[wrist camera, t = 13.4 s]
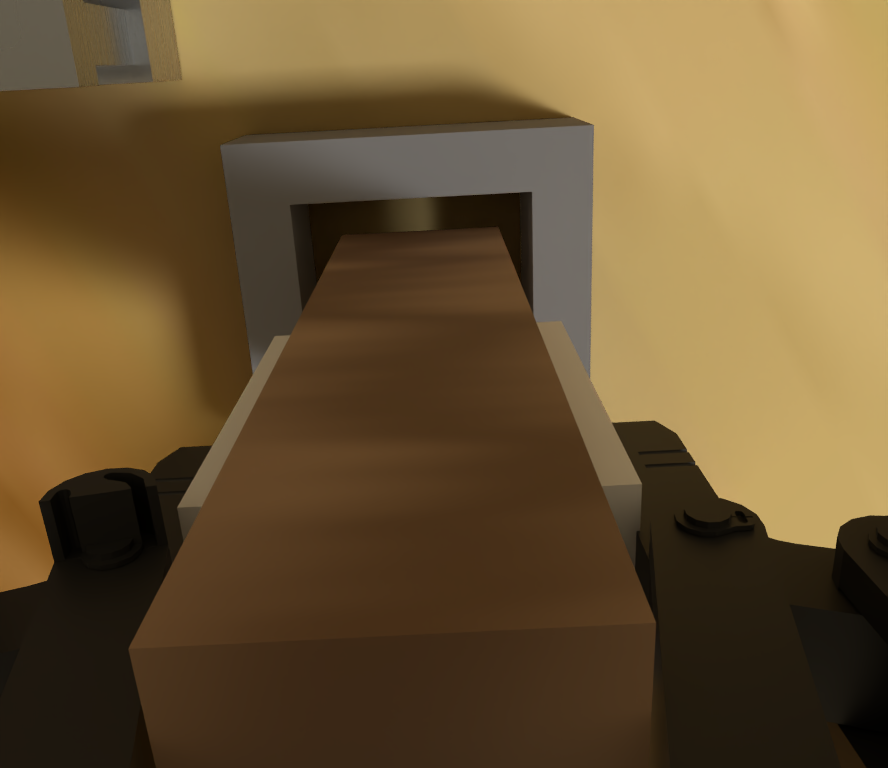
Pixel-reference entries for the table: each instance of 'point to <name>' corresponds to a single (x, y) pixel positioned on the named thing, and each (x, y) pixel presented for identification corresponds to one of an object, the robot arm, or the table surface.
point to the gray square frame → (412, 176)
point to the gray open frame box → (86, 43)
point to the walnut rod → (404, 545)
